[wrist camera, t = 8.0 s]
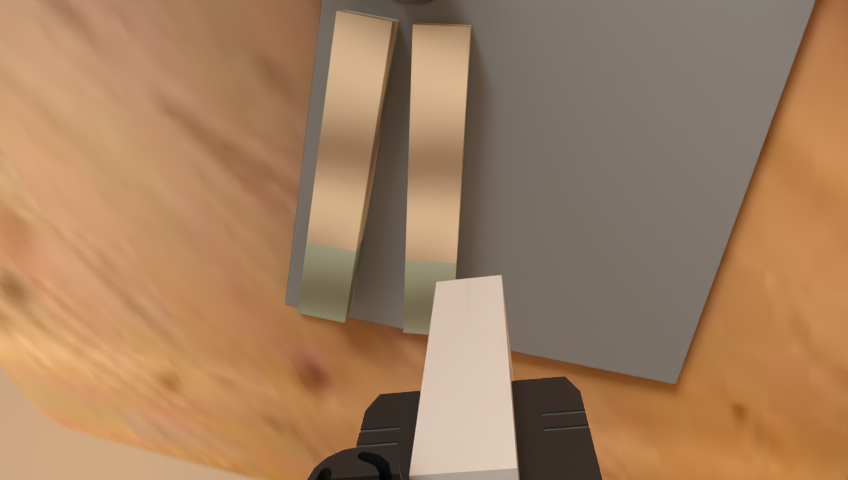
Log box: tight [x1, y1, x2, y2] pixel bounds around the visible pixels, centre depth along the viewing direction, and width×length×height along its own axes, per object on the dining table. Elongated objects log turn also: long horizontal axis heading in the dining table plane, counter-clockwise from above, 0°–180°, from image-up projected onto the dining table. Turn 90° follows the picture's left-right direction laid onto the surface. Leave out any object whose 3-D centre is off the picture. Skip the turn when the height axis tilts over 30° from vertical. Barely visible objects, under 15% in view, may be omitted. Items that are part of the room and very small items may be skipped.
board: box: [285, 0, 816, 384], centre depth 34 cm, size 22×22×1 cm
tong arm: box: [403, 23, 471, 335], centre depth 33 cm, size 15×2×2 cm, turn 178°
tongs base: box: [297, 0, 433, 323], centre depth 31 cm, size 20×5×4 cm, turn 170°
